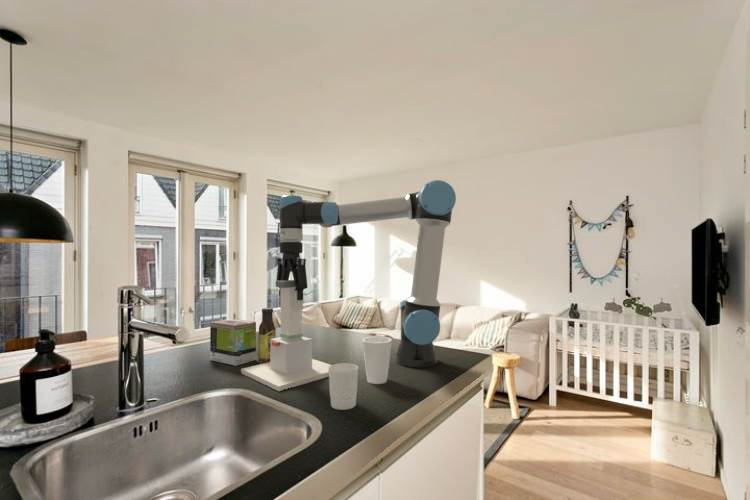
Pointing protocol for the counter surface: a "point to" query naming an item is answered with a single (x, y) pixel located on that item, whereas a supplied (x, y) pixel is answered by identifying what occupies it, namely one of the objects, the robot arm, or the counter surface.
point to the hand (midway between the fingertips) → (291, 308)
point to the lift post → (289, 312)
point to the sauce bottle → (265, 335)
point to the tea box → (233, 341)
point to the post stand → (288, 365)
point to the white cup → (343, 385)
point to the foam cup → (377, 358)
